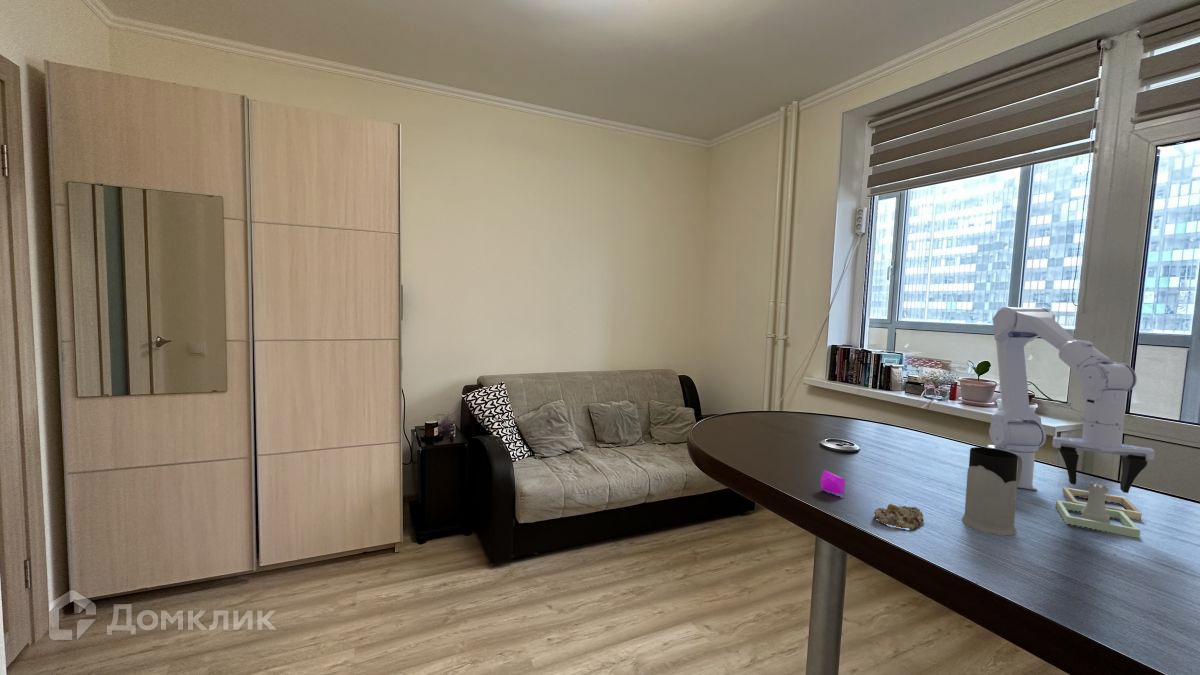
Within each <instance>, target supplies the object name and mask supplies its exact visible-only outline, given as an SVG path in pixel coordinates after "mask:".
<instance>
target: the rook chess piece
mask: <svg viewBox="0 0 1200 675" xmlns="http://www.w3.org/2000/svg"><path fill="white" fill-rule="evenodd" d="M1086 488H1087V489H1088V491H1089V493H1087V494H1088V495H1089V497H1088V499H1087V501H1086V503H1087V505H1086V506H1085V507H1084V509H1082V510H1081V512H1080V513H1081V514H1080V515H1079V518H1083V519H1089V520H1094V521H1100V522H1105V523H1110V524H1111V522H1110V521H1109V520H1110V519H1111V518H1110V517H1109V515H1108V514H1107V511H1106V509H1105V506H1106V502H1105V499H1106V496H1105V494H1108V493H1109V489H1108V488H1107V484H1105V483H1101V484H1100V482H1094V481H1090V482H1088V484H1087V485H1086Z"/></svg>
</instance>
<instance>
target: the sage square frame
mask: <svg viewBox="0 0 1200 675" xmlns="http://www.w3.org/2000/svg"><path fill="white" fill-rule="evenodd" d="M1085 506H1086V505H1082V504H1077V503H1071V502H1068V501H1064V500H1057V499H1056V500H1055V508H1056V507H1057V508H1056V510H1057V509H1058V510H1057V512H1058V511H1059V512H1060V513H1059V512H1058V513H1059V515H1060V514H1061V515H1060V517H1061V516H1062V517H1063V518H1062V517H1061V518H1062V519H1064V520H1063V521H1064V523H1065V522H1066V523H1065V524H1066V525H1068V524H1071V525H1070V526H1073V525H1078V526H1077V527H1079V526H1083V527H1082V528H1084V527H1088V528H1087V529H1089V528H1092V529H1091V530H1094V529H1098V530H1097V531H1099V530H1102V531H1101V532H1105V531H1107V532H1106V533H1110V532H1111V534H1116V535H1122V536H1126V537H1131V538H1132V537H1133V538H1136V539H1140V536H1141V529H1140V528H1139V527H1138V526H1137V525H1136V524H1135V523H1134V522H1133V520H1132V519H1129V518H1128V516H1127V515H1126V514H1125V513H1124V512H1123V511H1117V510H1111V509H1106V511H1107V514H1108V515H1109V517H1114V518H1119V519H1120V520H1119V519H1118V520H1119V521H1120V523H1121V522H1122V523H1123V524H1122V523H1121V524H1114V523H1111V522H1110V523H1105V522H1100V521H1094V520H1089V519H1083V518H1081V517H1077V516H1071V515H1070V513H1069V511H1070V510H1075V511H1081V510H1082V509H1084V507H1085ZM1066 509H1068V510H1066ZM1075 511H1074V512H1075ZM1114 518H1113V519H1114Z"/></svg>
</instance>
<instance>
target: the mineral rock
mask: <svg viewBox="0 0 1200 675" xmlns="http://www.w3.org/2000/svg"><path fill="white" fill-rule="evenodd" d="M873 514H875V515H874V518H876V519H878V520H879V521H880V522H879V521H878V522H879V523H881V522H883V523H885V524H888V525H892V526H896V527H901V528H909V529H910V530H914V529H915V528H916V527H918V526H920V527H921V526H922V525H921V524H923V525H924V524H925V522H924V521H925V519H924V514H923V512H922V511H921V509H919V508H917V507H914V506H906V505H903V506H900V505H899V506H898V505H896V504H893V503H889V504H888V505H887V508H884V507H880V508H879V507H878V508H877V509H875V510H874V512H873ZM876 519H875V520H876ZM883 523H882V524H883ZM885 524H884V525H885ZM918 528H919V527H918ZM916 529H917V528H916Z"/></svg>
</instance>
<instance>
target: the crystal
mask: <svg viewBox="0 0 1200 675" xmlns="http://www.w3.org/2000/svg"><path fill="white" fill-rule="evenodd" d="M845 485H846V479H845V478H843V477H841V476H839V475H836V474H834V473H833V472H830V471H828V470H826V469H823V472H822V475H821V477H820V489H821V488H822V489H825V490H828V491H830V492H834V493H839V494H844V495H845Z"/></svg>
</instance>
